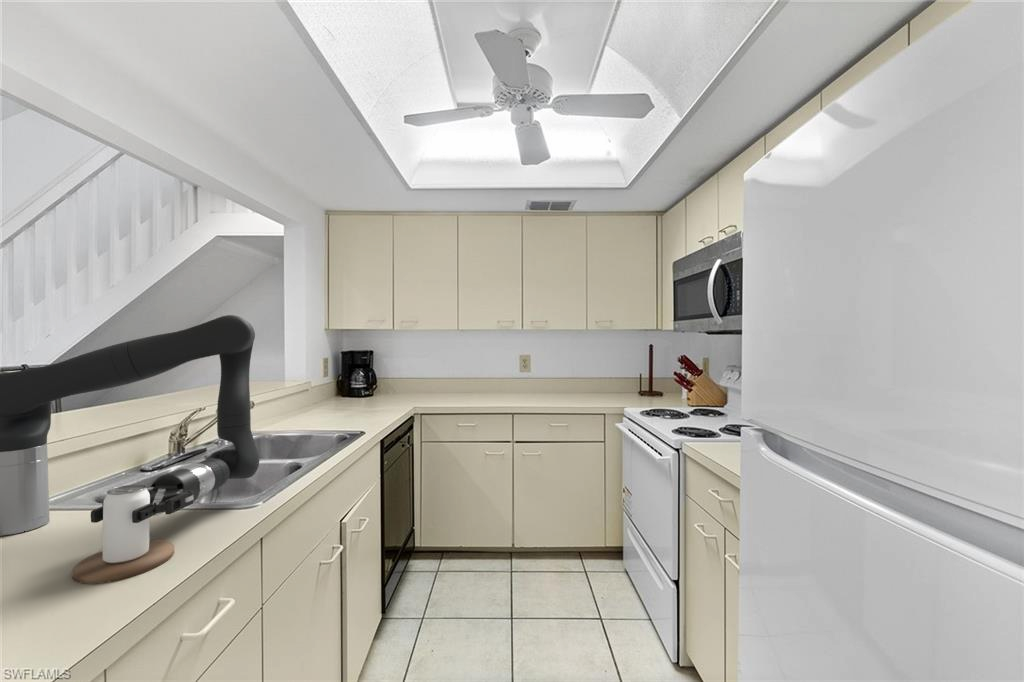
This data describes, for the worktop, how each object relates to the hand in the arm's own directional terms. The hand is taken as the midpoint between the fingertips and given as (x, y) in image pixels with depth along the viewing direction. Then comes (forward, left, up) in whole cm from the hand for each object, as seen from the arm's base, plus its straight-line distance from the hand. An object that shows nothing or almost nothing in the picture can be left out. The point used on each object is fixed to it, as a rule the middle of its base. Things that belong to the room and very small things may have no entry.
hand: (113, 517), depth 82 cm
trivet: (0, +2, -9) cm, 9 cm away
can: (0, +2, -8) cm, 8 cm away
